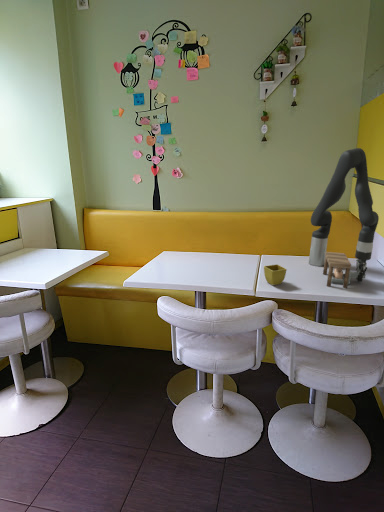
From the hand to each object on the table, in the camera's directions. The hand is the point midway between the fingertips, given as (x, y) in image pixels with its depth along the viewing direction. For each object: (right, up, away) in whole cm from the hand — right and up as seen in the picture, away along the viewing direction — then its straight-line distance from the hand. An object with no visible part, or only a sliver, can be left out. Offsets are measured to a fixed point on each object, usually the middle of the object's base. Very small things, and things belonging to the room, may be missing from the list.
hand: (358, 280), depth 184 cm
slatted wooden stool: (-12, 0, +3) cm, 12 cm away
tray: (-6, -1, +2) cm, 6 cm away
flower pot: (-46, -2, -1) cm, 46 cm away
